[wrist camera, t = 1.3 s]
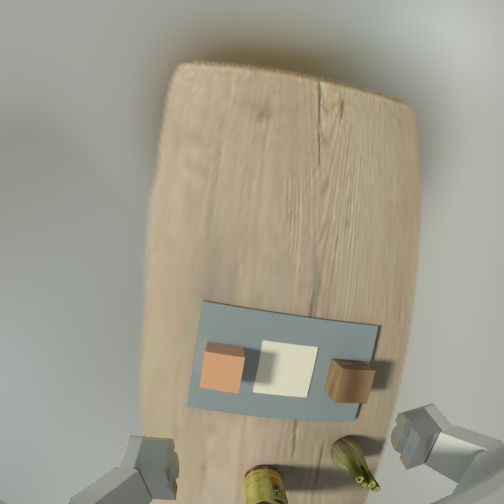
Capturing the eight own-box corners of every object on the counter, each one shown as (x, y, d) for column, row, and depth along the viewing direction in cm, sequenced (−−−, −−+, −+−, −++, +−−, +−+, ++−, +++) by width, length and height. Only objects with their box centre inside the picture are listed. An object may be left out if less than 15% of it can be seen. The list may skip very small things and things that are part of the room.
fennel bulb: (358, 452, 45) (386, 490, 33) (332, 463, 44) (355, 504, 32) (351, 428, 45) (380, 466, 33) (324, 440, 44) (347, 481, 32)
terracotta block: (243, 347, 43) (244, 357, 38) (237, 379, 43) (238, 393, 38) (207, 341, 43) (204, 351, 38) (202, 374, 42) (199, 387, 37)
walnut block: (361, 360, 44) (375, 370, 39) (354, 390, 44) (366, 403, 39) (331, 358, 44) (342, 368, 39) (324, 389, 44) (334, 402, 39)
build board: (375, 325, 45) (379, 326, 44) (351, 418, 45) (354, 421, 43) (203, 300, 44) (202, 301, 43) (188, 403, 43) (187, 406, 42)
